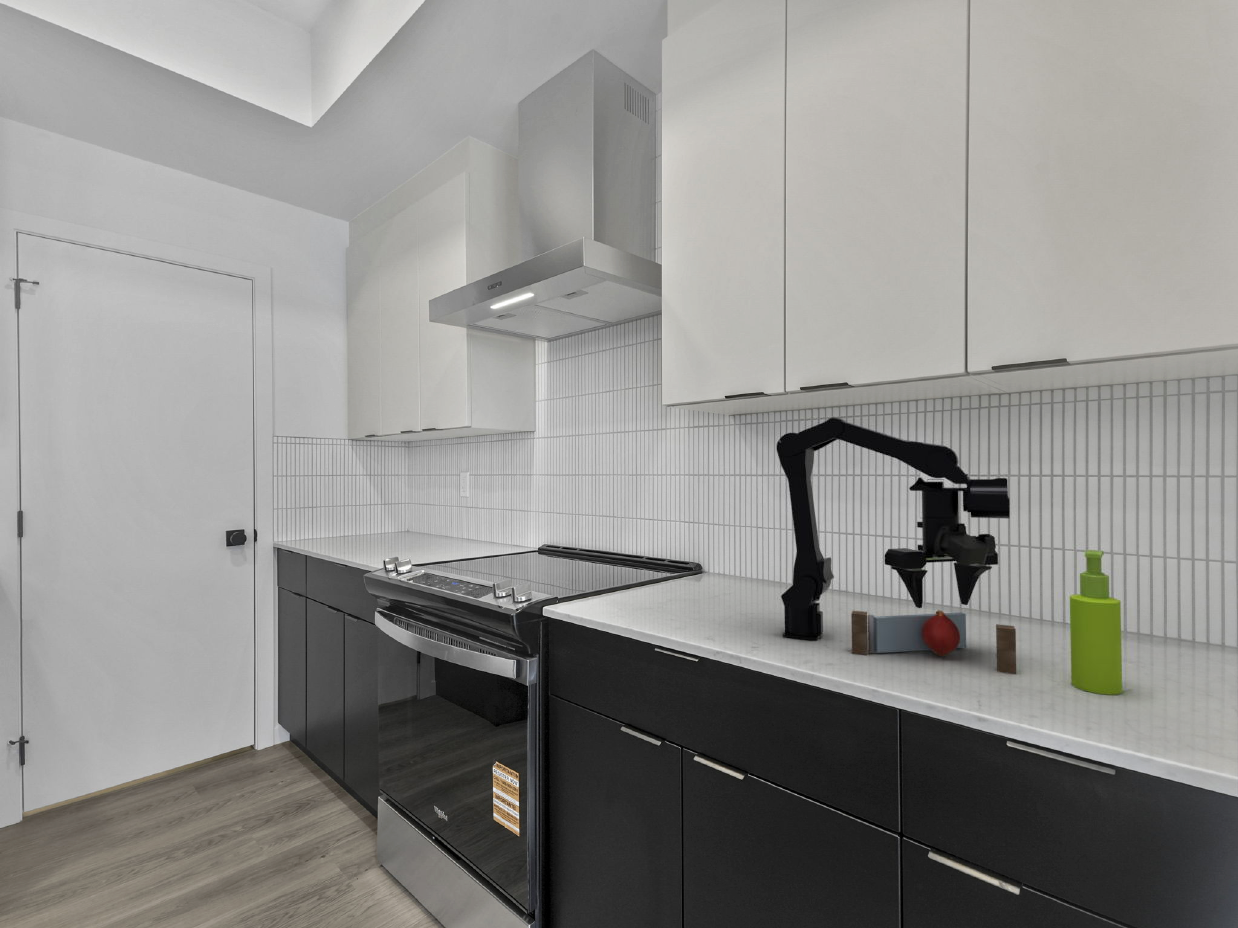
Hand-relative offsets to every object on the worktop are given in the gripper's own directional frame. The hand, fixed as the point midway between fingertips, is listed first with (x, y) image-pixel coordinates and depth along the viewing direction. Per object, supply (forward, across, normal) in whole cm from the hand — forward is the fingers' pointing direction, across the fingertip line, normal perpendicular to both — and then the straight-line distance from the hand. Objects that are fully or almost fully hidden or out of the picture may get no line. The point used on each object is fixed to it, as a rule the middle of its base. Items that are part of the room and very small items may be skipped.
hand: (941, 606), depth 105 cm
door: (+8, -3, +3) cm, 9 cm away
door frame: (+8, -5, -3) cm, 10 cm away
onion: (+9, -1, -1) cm, 9 cm away
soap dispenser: (+9, +10, -19) cm, 23 cm away
